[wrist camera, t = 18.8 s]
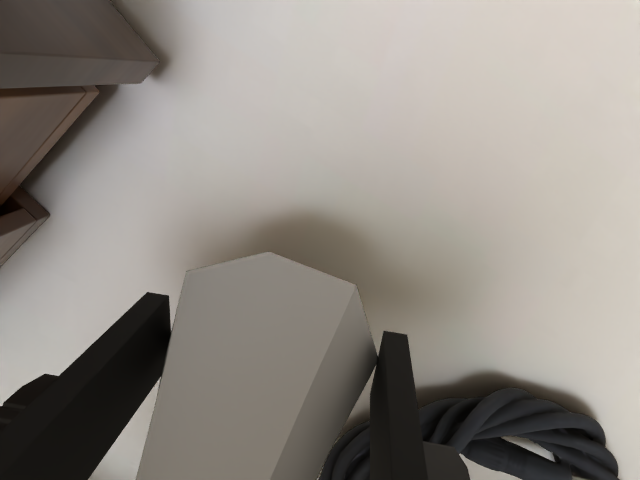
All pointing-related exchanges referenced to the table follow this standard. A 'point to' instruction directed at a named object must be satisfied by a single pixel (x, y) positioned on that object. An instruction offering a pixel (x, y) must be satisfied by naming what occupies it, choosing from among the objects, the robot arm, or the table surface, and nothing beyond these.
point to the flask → (257, 373)
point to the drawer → (57, 73)
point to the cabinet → (18, 221)
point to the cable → (495, 439)
